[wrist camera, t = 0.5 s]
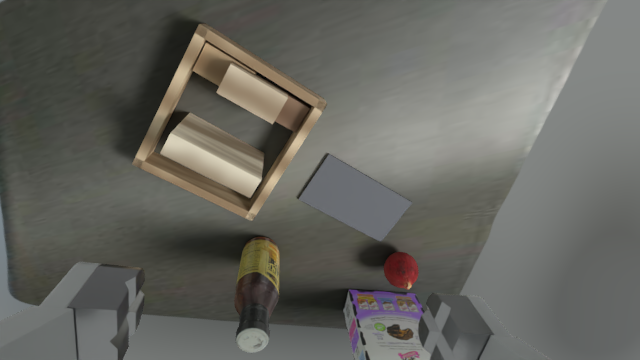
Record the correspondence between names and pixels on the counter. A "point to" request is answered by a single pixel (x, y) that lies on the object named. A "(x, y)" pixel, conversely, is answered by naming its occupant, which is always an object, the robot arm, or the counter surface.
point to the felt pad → (354, 198)
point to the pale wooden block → (215, 154)
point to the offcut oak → (215, 63)
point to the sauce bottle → (256, 292)
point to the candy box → (384, 325)
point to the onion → (401, 270)
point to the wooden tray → (195, 181)
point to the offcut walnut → (292, 111)
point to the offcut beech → (252, 92)
